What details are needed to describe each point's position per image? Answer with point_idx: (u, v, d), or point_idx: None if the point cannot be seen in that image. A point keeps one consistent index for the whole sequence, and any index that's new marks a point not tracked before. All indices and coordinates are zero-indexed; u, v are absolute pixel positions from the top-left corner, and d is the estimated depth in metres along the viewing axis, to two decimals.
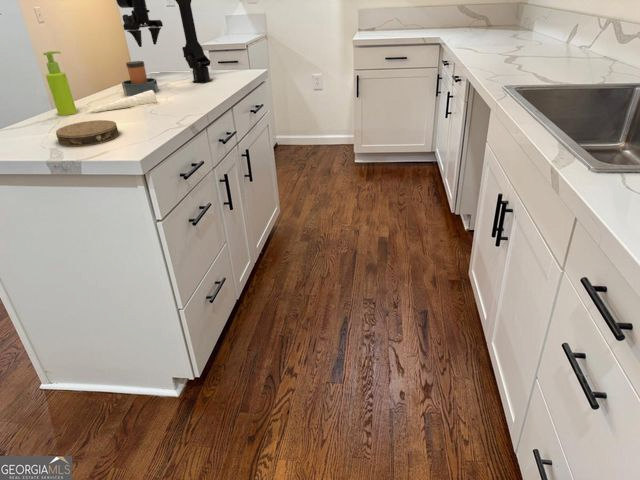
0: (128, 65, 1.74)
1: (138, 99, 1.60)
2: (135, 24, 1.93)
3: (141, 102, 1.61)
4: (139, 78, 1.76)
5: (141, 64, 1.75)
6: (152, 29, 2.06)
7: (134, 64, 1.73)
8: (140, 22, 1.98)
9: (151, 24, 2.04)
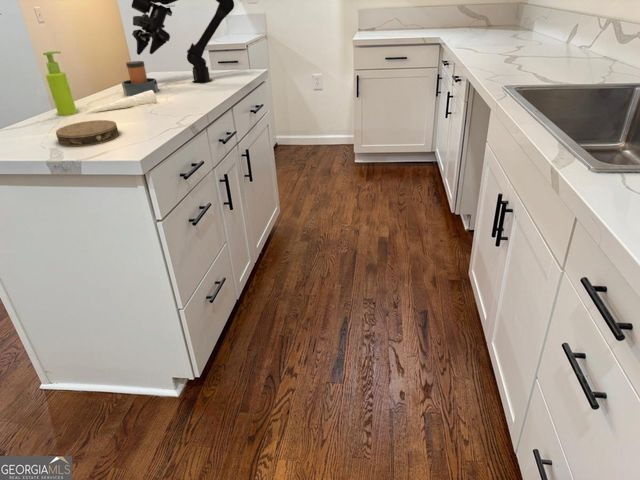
0: (128, 65, 1.74)
1: (138, 99, 1.60)
2: None
3: (141, 102, 1.61)
4: (139, 78, 1.76)
5: (141, 64, 1.75)
6: (142, 40, 1.87)
7: (134, 64, 1.73)
8: None
9: None
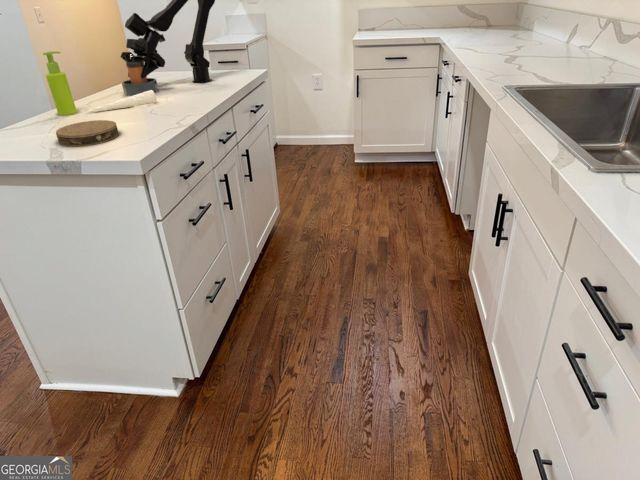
0: (128, 65, 1.74)
1: (138, 99, 1.60)
2: None
3: (141, 102, 1.61)
4: (139, 78, 1.76)
5: (141, 64, 1.75)
6: None
7: (134, 64, 1.73)
8: None
9: None
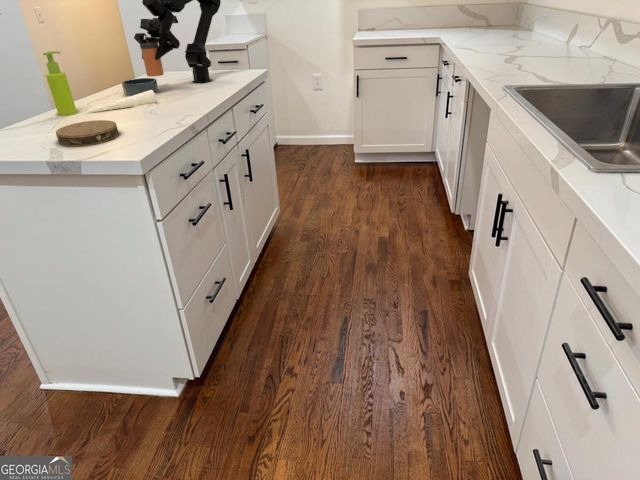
0: (142, 46, 1.69)
1: (138, 99, 1.60)
2: None
3: (141, 102, 1.61)
4: (153, 60, 1.71)
5: (155, 46, 1.70)
6: None
7: (148, 45, 1.68)
8: None
9: None
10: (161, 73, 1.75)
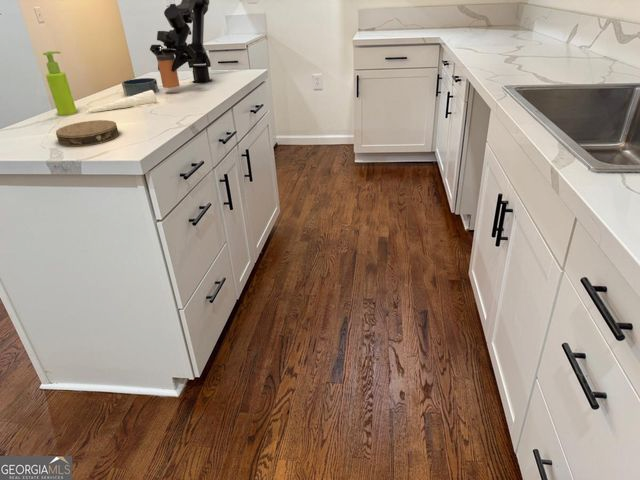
0: (159, 58, 1.69)
1: (138, 99, 1.60)
2: None
3: (141, 102, 1.61)
4: (169, 71, 1.72)
5: (172, 57, 1.70)
6: None
7: (165, 57, 1.69)
8: None
9: None
10: (177, 84, 1.76)
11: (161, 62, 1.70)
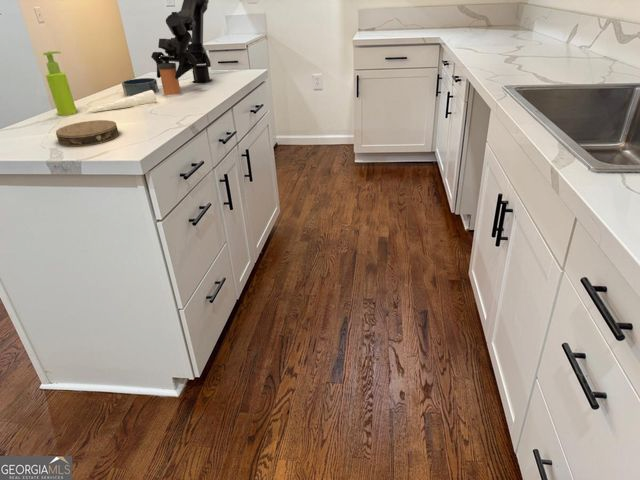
0: (160, 67, 1.71)
1: (138, 99, 1.60)
2: None
3: (141, 102, 1.61)
4: (171, 80, 1.73)
5: (173, 66, 1.72)
6: None
7: (166, 66, 1.70)
8: None
9: None
10: (178, 93, 1.77)
11: (163, 71, 1.71)
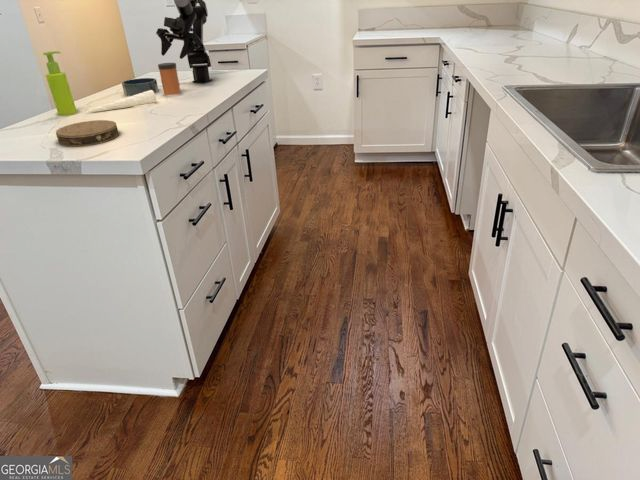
0: (160, 67, 1.71)
1: (138, 99, 1.60)
2: None
3: (141, 102, 1.61)
4: (171, 80, 1.73)
5: (173, 66, 1.72)
6: (167, 40, 1.80)
7: (166, 66, 1.70)
8: None
9: None
10: (178, 93, 1.77)
11: (163, 71, 1.71)
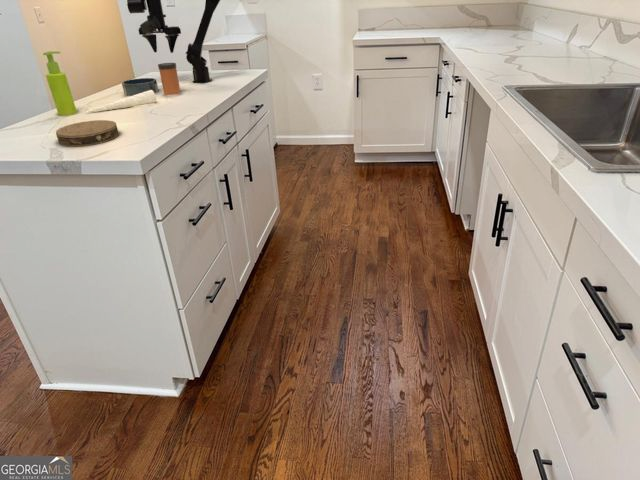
0: (160, 67, 1.71)
1: (138, 99, 1.60)
2: None
3: (141, 102, 1.61)
4: (171, 80, 1.73)
5: (173, 66, 1.72)
6: (151, 36, 1.92)
7: (166, 66, 1.70)
8: (165, 27, 1.88)
9: None
10: (178, 93, 1.77)
11: (163, 71, 1.71)
